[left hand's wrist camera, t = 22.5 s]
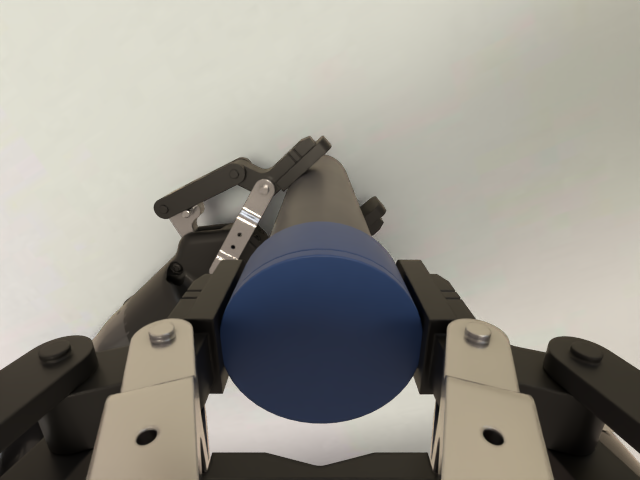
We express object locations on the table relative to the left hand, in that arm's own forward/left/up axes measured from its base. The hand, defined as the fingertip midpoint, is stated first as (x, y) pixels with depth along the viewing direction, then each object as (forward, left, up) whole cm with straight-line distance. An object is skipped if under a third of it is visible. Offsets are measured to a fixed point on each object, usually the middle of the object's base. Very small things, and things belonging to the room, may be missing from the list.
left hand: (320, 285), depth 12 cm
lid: (0, 0, +3) cm, 3 cm away
